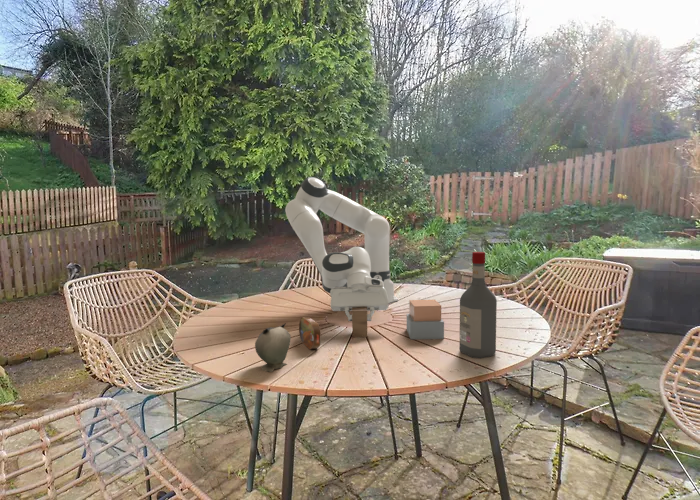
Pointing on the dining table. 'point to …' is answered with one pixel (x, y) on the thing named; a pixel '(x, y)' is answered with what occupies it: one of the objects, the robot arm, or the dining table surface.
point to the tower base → (425, 329)
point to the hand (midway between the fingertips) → (359, 320)
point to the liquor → (478, 314)
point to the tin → (309, 332)
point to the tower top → (425, 310)
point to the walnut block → (359, 321)
